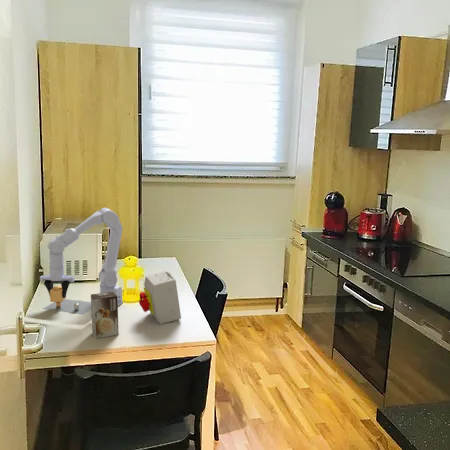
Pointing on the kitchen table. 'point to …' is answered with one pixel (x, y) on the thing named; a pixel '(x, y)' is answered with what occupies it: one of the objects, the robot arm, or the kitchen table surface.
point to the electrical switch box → (161, 297)
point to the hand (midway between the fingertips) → (58, 297)
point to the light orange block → (56, 294)
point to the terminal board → (71, 306)
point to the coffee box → (104, 314)
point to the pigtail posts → (76, 306)
